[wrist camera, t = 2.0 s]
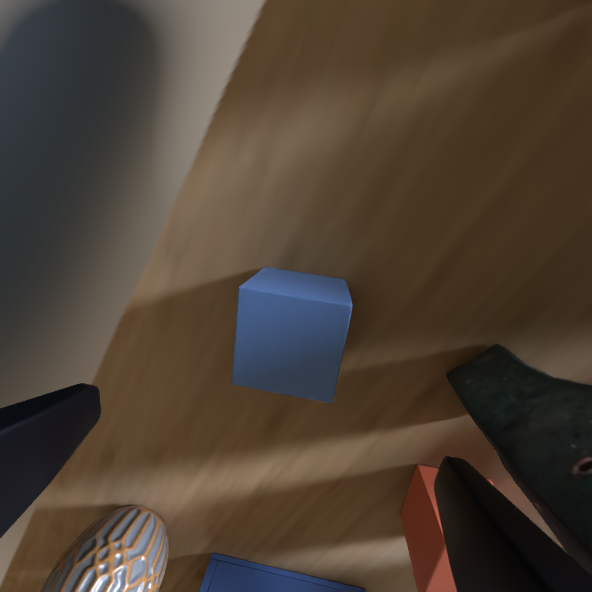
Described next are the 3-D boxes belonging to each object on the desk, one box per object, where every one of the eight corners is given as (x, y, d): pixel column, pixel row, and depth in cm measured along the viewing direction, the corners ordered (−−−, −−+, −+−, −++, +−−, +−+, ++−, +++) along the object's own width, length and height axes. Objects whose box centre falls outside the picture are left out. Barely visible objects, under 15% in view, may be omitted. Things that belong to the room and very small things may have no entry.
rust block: (490, 478, 17) (544, 566, 13) (467, 529, 18) (509, 624, 14) (416, 463, 18) (444, 544, 13) (399, 514, 19) (419, 602, 15)
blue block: (346, 279, 15) (353, 305, 10) (331, 354, 16) (332, 404, 12) (264, 266, 15) (238, 286, 11) (256, 340, 16) (230, 384, 12)
